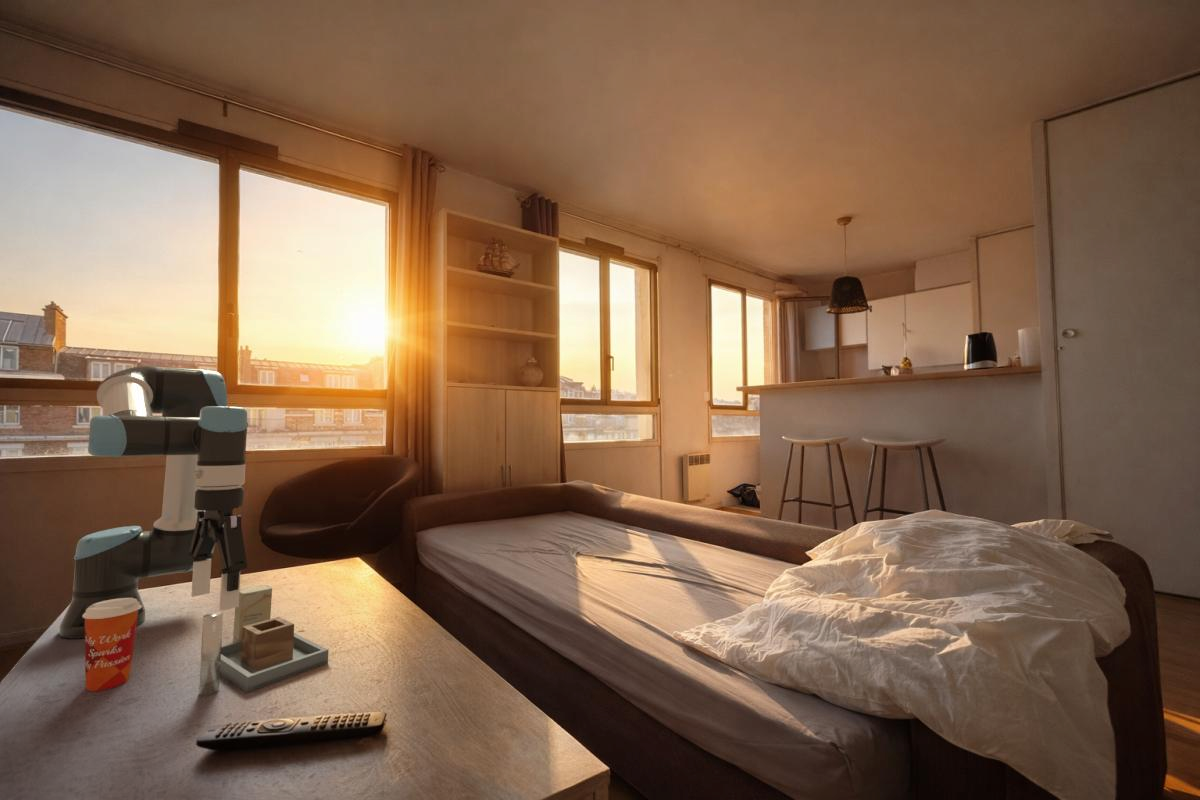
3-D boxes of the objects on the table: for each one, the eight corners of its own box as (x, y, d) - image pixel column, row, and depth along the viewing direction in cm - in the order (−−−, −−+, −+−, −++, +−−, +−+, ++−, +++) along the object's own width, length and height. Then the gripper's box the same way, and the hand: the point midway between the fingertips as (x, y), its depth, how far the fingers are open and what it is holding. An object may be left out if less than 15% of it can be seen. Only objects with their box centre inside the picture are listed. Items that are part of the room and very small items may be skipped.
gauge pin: (196, 692, 96) (200, 615, 97) (215, 686, 98) (219, 611, 99) (202, 697, 94) (206, 619, 95) (221, 690, 97) (225, 614, 97)
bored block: (240, 661, 107) (242, 626, 108) (277, 649, 113) (278, 616, 113) (255, 670, 103) (257, 634, 104) (292, 657, 109) (294, 624, 109)
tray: (205, 663, 108) (206, 649, 108) (283, 640, 120) (283, 627, 120) (247, 692, 96) (248, 677, 96) (327, 663, 108) (328, 649, 109)
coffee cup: (68, 698, 93) (74, 613, 94) (87, 678, 101) (93, 600, 101) (129, 688, 97) (134, 606, 98) (143, 669, 104) (148, 594, 105)
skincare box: (238, 650, 114) (241, 594, 115) (231, 644, 117) (234, 590, 118) (270, 641, 119) (273, 587, 120) (263, 636, 122) (266, 584, 123)
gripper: (172, 484, 102) (166, 594, 101) (223, 493, 88) (217, 621, 87) (217, 482, 109) (211, 585, 107) (271, 490, 94) (266, 608, 93)
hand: (214, 601), depth 97 cm, fingers open, 13 cm apart
